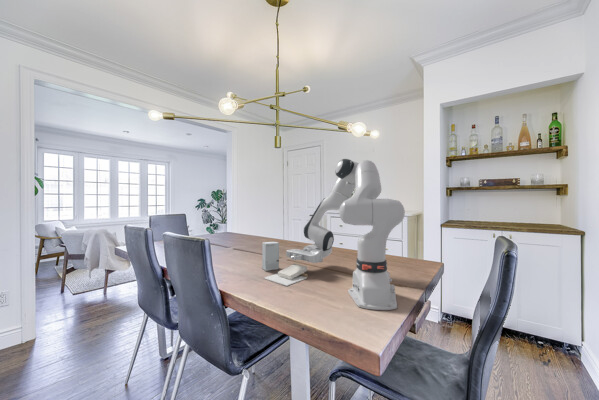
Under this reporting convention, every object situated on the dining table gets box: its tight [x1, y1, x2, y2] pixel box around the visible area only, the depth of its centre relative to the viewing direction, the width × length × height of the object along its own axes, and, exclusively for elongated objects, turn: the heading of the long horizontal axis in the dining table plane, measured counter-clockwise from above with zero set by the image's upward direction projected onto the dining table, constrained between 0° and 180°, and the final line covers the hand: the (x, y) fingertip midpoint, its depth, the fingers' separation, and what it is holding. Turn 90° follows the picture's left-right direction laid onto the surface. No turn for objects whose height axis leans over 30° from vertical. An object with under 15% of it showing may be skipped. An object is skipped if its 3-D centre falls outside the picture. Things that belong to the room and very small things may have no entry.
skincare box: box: [261, 241, 280, 272], centre depth 139 cm, size 8×6×15 cm
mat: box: [263, 272, 308, 287], centre depth 122 cm, size 14×16×1 cm
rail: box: [299, 272, 309, 278], centre depth 128 cm, size 2×14×2 cm, turn 47°
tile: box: [277, 263, 308, 280], centre depth 126 cm, size 2×9×12 cm
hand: (292, 258), depth 126 cm, fingers closed
